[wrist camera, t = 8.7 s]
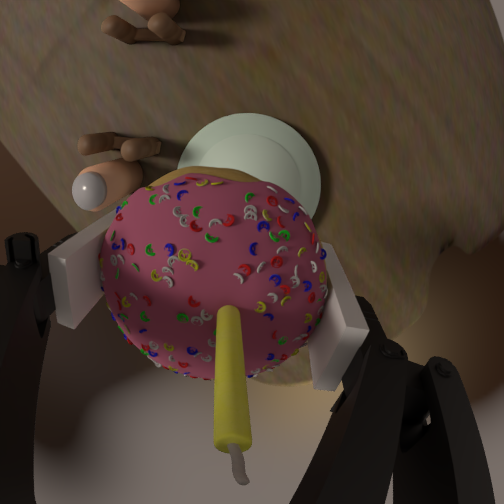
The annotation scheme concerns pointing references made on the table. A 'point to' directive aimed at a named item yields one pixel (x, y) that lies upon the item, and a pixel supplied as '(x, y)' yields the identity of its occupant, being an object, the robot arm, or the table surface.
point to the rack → (125, 32)
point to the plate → (259, 154)
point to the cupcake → (215, 283)
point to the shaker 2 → (153, 7)
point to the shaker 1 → (106, 183)
